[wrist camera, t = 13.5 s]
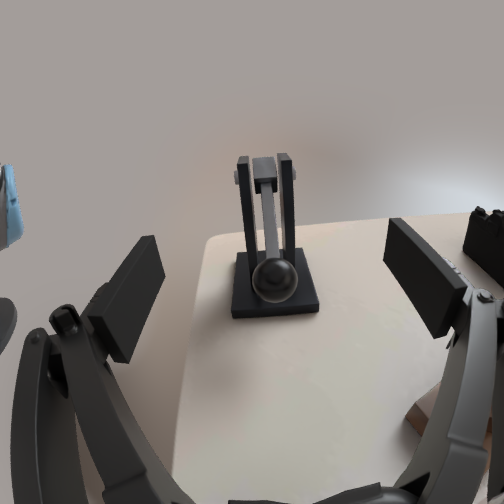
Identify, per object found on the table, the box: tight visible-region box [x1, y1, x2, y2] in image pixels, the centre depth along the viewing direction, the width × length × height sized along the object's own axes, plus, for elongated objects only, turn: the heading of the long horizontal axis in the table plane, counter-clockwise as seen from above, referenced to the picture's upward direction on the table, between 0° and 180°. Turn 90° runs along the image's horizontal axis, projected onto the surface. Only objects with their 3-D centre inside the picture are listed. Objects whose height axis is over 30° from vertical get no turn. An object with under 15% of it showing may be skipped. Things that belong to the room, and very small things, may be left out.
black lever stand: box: [231, 153, 319, 319], centre depth 29 cm, size 12×9×15 cm
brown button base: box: [405, 382, 492, 475], centre depth 12 cm, size 12×9×4 cm
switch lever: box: [252, 157, 298, 303], centre depth 24 cm, size 14×4×4 cm
